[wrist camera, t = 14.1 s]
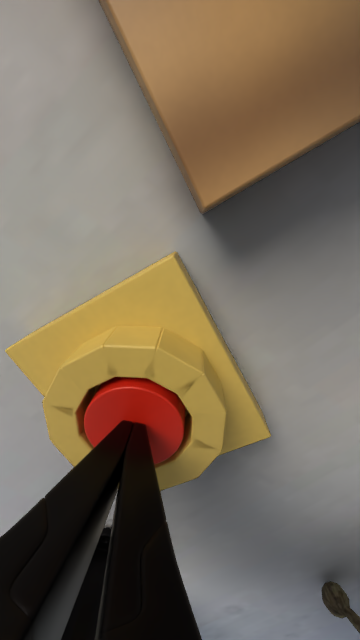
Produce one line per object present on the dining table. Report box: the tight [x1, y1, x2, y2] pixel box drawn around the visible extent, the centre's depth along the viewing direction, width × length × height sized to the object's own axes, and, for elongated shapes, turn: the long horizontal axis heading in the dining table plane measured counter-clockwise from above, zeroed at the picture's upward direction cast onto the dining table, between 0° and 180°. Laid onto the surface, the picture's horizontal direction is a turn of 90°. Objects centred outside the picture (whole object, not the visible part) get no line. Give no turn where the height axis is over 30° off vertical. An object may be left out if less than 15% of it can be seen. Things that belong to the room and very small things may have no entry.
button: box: [84, 377, 185, 464], centre depth 9 cm, size 4×4×2 cm
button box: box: [5, 252, 271, 491], centre depth 10 cm, size 9×8×4 cm
